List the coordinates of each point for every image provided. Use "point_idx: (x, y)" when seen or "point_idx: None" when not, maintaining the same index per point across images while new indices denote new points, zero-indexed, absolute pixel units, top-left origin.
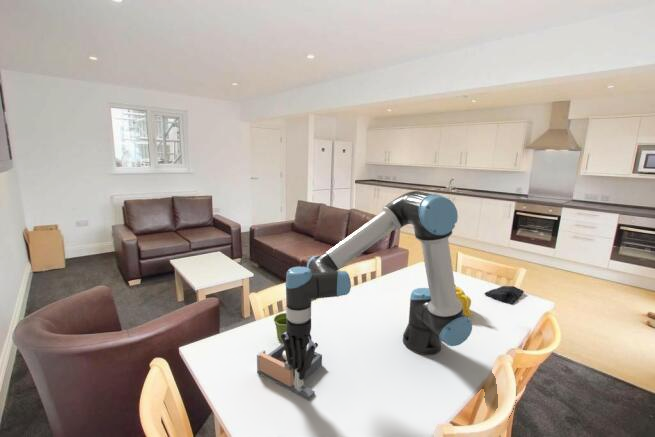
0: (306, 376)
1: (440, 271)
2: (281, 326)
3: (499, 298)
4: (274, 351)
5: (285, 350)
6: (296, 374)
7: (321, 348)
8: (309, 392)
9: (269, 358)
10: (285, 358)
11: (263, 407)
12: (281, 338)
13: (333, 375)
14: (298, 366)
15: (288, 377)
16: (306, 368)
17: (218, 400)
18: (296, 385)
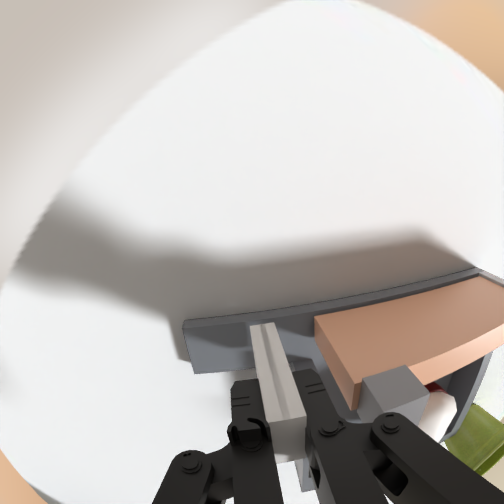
0: None
1: None
2: (494, 442)
3: None
4: (480, 376)
5: (488, 486)
6: (279, 392)
7: None
8: (206, 355)
9: (501, 332)
10: (432, 398)
11: (331, 130)
12: (470, 415)
13: None
14: (271, 465)
15: (347, 341)
16: (161, 486)
17: (467, 74)
18: (265, 336)
